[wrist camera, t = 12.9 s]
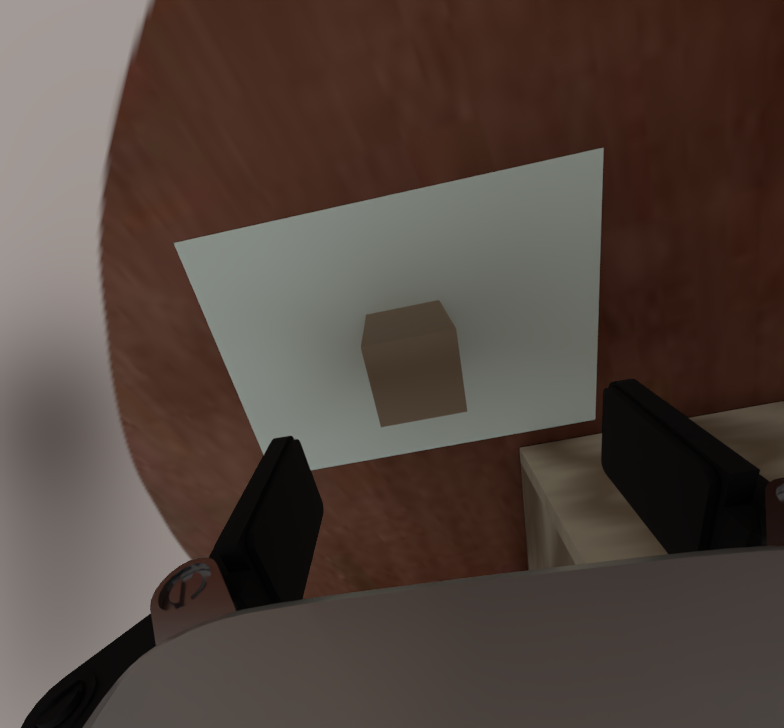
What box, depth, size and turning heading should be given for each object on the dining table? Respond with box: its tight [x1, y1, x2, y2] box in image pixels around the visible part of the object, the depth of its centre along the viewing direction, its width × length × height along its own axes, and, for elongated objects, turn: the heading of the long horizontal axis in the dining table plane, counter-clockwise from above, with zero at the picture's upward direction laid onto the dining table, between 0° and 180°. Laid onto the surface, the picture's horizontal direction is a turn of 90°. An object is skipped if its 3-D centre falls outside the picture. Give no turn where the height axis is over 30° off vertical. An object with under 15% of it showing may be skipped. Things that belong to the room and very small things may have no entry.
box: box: [520, 401, 784, 570], centre depth 21 cm, size 20×14×9 cm
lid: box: [174, 148, 604, 470], centre depth 18 cm, size 21×15×6 cm
